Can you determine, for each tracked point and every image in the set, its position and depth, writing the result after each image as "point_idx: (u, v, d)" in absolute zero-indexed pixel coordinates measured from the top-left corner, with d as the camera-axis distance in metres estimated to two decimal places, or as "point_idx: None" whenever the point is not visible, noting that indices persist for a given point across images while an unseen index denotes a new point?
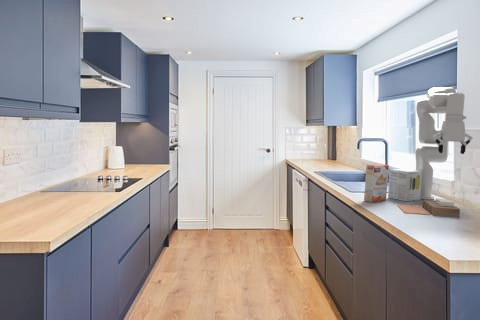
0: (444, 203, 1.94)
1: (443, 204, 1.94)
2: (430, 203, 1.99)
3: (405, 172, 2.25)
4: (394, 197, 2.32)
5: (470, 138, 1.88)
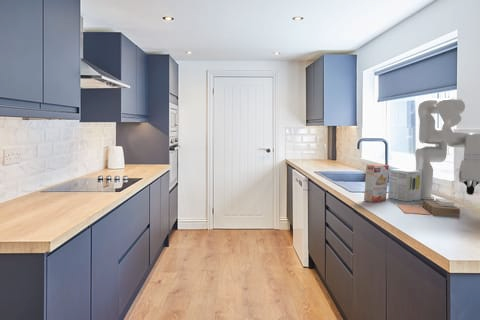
0: (444, 203, 1.94)
1: (443, 204, 1.94)
2: (430, 203, 1.99)
3: (405, 172, 2.25)
4: (394, 197, 2.32)
5: None
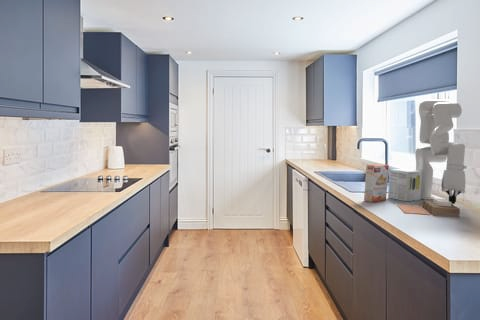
0: (441, 203, 1.94)
1: (440, 204, 1.94)
2: (430, 203, 1.99)
3: (405, 172, 2.25)
4: (394, 197, 2.32)
5: (462, 191, 1.96)
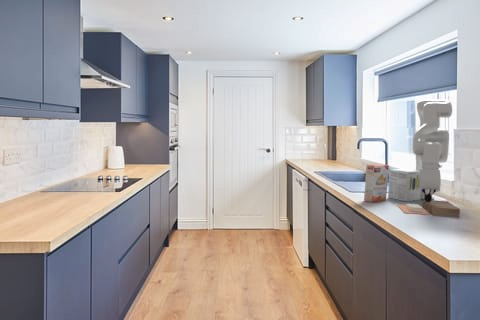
0: (419, 209, 1.96)
1: (420, 209, 1.96)
2: (430, 203, 1.99)
3: (405, 172, 2.25)
4: (394, 197, 2.32)
5: (438, 190, 1.98)
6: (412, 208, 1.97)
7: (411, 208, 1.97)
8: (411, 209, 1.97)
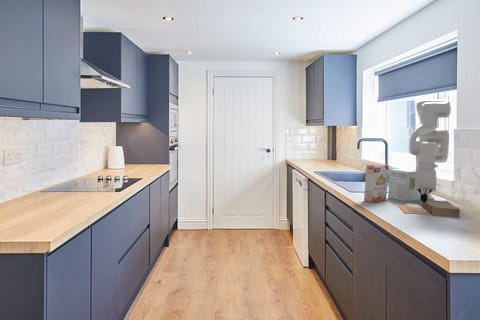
0: (419, 209, 1.96)
1: (420, 209, 1.96)
2: (430, 203, 1.99)
3: (405, 172, 2.25)
4: (394, 197, 2.32)
5: (433, 190, 1.98)
6: (412, 208, 1.97)
7: (411, 208, 1.97)
8: (411, 209, 1.97)
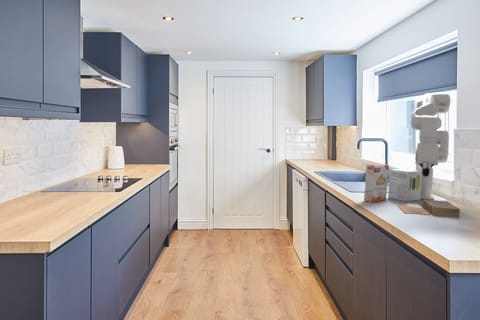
0: (419, 209, 1.96)
1: (420, 209, 1.96)
2: (430, 203, 1.99)
3: (405, 172, 2.25)
4: (394, 197, 2.32)
5: (435, 164, 1.97)
6: (412, 208, 1.97)
7: (411, 208, 1.97)
8: (411, 209, 1.97)
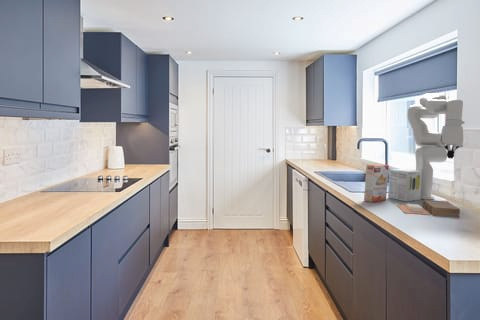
0: (419, 209, 1.96)
1: (420, 209, 1.96)
2: (430, 203, 1.99)
3: (405, 172, 2.25)
4: (394, 197, 2.32)
5: (460, 146, 2.03)
6: (412, 208, 1.97)
7: (411, 208, 1.97)
8: (411, 209, 1.97)
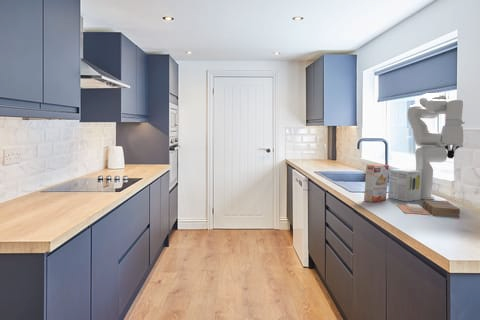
0: (419, 209, 1.96)
1: (420, 209, 1.96)
2: (430, 203, 1.99)
3: (405, 172, 2.25)
4: (394, 197, 2.32)
5: (460, 146, 2.03)
6: (412, 208, 1.97)
7: (411, 208, 1.97)
8: (411, 209, 1.97)
